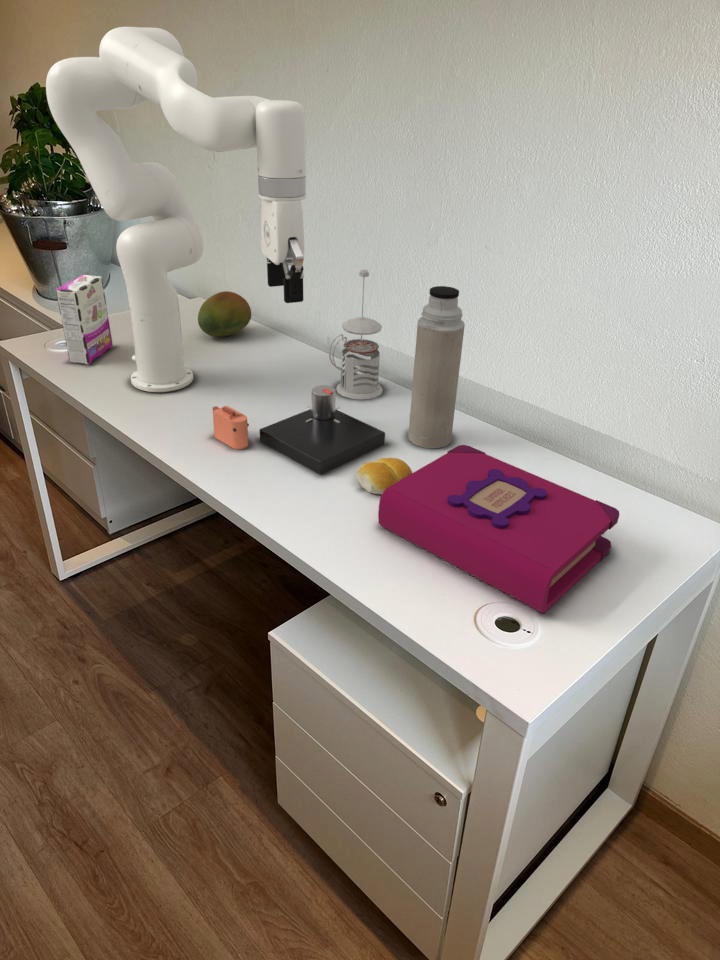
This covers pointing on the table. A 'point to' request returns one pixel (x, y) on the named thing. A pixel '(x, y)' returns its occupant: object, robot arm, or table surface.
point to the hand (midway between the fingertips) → (285, 293)
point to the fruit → (224, 314)
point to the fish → (230, 427)
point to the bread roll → (382, 474)
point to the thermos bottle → (436, 369)
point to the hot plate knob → (323, 402)
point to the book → (500, 524)
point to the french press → (351, 381)
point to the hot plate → (322, 439)
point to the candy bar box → (84, 318)
